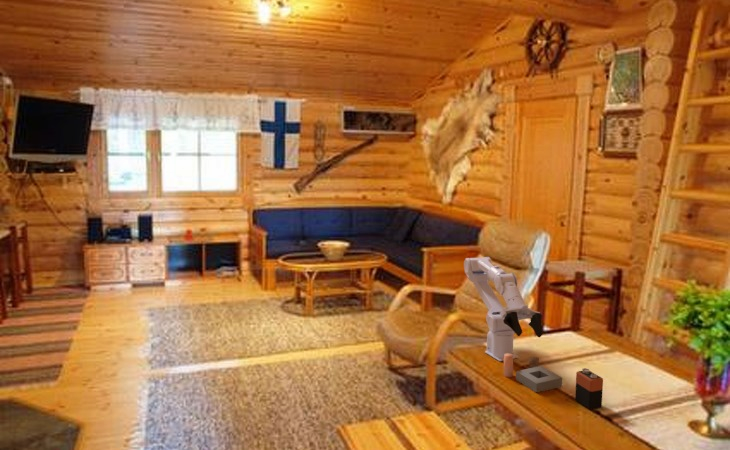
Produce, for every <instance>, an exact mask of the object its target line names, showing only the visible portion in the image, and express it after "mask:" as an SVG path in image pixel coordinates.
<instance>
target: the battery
mask: <svg viewBox="0 0 730 450" xmlns="http://www.w3.org/2000/svg"><path fill="white" fill-rule="evenodd" d="M575 375H576V376H575V379H576V380H575V392H574V393H575V394H574V395H575V398H574V400H575V401H577V402H578V403H579V404H580V405H582V406H584V407H585V408H587V409H588V410H590V411H591V410H594V409H600V408H602V406H603V405H602V404H603V389H604V387H603V386H604V378H603V377H602V376H600V375H598V374H596V373H594V372H592V371H591V370H590V368H583V367H582V370H578V371H576V374H575Z"/></svg>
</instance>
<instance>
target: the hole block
mask: <svg viewBox="0 0 730 450" xmlns="http://www.w3.org/2000/svg"><path fill="white" fill-rule="evenodd" d="M515 380H516V382H518V383H520V384H521V383H522V385H523V386H524V387H526V388H528V389H529V388H530V389H529V390H531V391H532V392H534V391H535V392H534V393H536V392H538V393H541V392H540V391H542V392H545V390H546V391H549V389H550V390H553V389H557V388H558V387H559V388H562V387H563V377H562V376H560V375H559V374H556V373H555V372H554V371H551V370H549V369H547V368H545V367H544V366H542V365H539V366H538V367H533V368H525V369H519V370H516V371H515ZM561 386H562V387H561Z"/></svg>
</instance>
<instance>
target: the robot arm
mask: <svg viewBox="0 0 730 450" xmlns="http://www.w3.org/2000/svg"><path fill="white" fill-rule="evenodd" d="M464 259H465V260H464V261H463V269H464V273H465V275H466V277H467V278H468V280H469V282H470V283H471V282H472V283H473V285H474V288H475V289H476V290H475V291H477V293H478V295H479V297H480V299H481V300H482V302H483V304H484V306H485V308H486V309H487V310H488V311H487V313H486V317H485V318H486V319H485V320H486V323H487V328H488V329H489V331H488V332H487V334H486V350H485V351H484V353H485V354H486V355H488V356H489V357H492V358H493V359H494V360H497V361H498V362H504V354H506V353H509V354H513V360H514V359H518V358H519V356H518V355H517V354H515V353H514V334H516V336H517V337H521V335H522V334H523V329H522V326H521V324H520V320H526V319H530V320H529V323H528V326H529V327H530V328H532V330H533V331H534V333H535V335H536V337H538V338H541V337H542V336H543V334H544V333H543V332H544V331H543V328H542V327H543V326H542V319H543V315H542V313H541V312H540V311H536V310H534V309H532V308H530V307H529V305H528V304H526V302H525V300H524V298H523V296H522V294H521V293H520V289H519V287H518V279H517V275H516V274H515V273H513V272H510V273H508V272H506V271H505V269H502V268H501V267H500V265H493V261H492V258H491V257H490V256H485V257H483V256H482V257H470V258H469V257H466V258H464ZM490 281H491V282H492V283H494V287H495V291H497V292H498V293H499V295H500V296H502V297H503V299H504V302H505V305H506V306H507V307H505V306H503V304H502V303H501V301H500V299H499V298H498V296H497V295H496V293H495V291H494V290H493V288H492V286H491V285H490V284H489V282H490Z"/></svg>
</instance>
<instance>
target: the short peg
mask: <svg viewBox="0 0 730 450" xmlns="http://www.w3.org/2000/svg"><path fill="white" fill-rule="evenodd" d="M539 362H540V358H539V357H537V356H530V357H529V368H533V367H538V366H540V363H539ZM529 368H528V369H529Z"/></svg>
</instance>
